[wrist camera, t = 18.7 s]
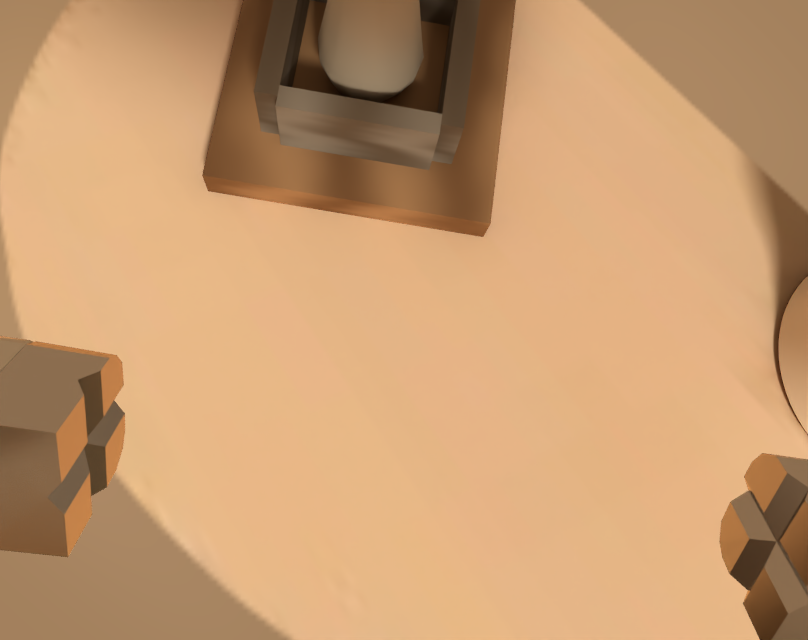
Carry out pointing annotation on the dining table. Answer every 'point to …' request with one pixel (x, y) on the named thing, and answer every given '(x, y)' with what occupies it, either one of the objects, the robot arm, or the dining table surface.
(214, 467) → the dining table surface
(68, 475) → the robot arm
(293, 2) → the walnut socket board
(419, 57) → the beige round peg
